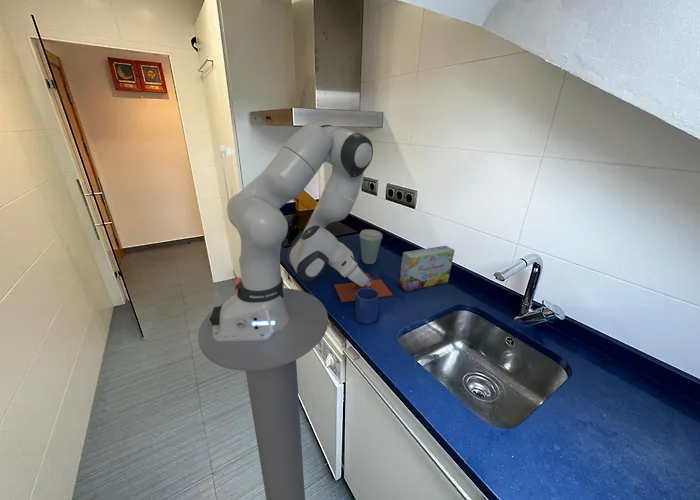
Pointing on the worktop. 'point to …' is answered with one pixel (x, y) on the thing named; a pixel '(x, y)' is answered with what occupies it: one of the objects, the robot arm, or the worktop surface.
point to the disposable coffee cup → (370, 245)
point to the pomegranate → (369, 280)
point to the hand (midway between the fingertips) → (364, 278)
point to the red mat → (349, 293)
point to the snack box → (425, 267)
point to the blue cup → (366, 305)
